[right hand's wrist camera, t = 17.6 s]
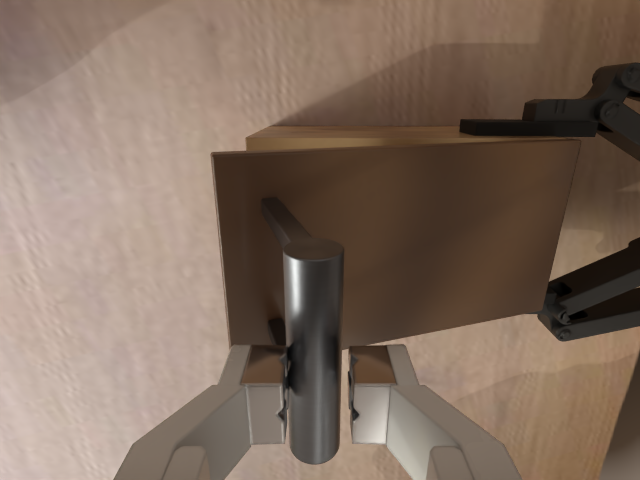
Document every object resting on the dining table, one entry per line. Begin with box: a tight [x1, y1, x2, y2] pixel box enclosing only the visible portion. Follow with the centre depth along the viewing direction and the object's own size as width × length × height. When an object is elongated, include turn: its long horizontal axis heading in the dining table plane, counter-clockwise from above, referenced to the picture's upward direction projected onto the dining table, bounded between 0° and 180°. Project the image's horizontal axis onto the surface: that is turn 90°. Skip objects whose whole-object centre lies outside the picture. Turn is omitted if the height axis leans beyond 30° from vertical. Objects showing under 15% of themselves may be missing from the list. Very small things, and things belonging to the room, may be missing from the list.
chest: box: [246, 126, 568, 151], centre depth 26 cm, size 17×10×9 cm, turn 90°
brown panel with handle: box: [211, 139, 581, 464], centre depth 15 cm, size 18×10×8 cm, turn 90°
